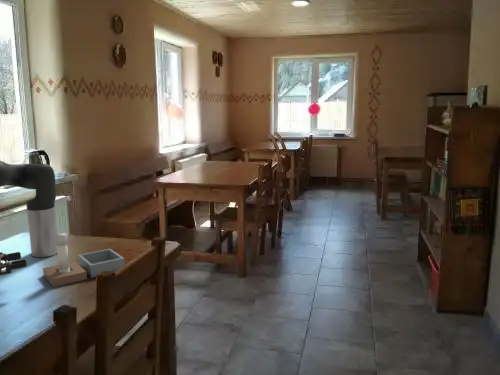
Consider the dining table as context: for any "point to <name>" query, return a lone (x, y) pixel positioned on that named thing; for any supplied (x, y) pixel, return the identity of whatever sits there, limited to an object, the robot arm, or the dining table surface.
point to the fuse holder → (64, 274)
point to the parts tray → (100, 261)
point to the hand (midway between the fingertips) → (23, 259)
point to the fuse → (62, 252)
